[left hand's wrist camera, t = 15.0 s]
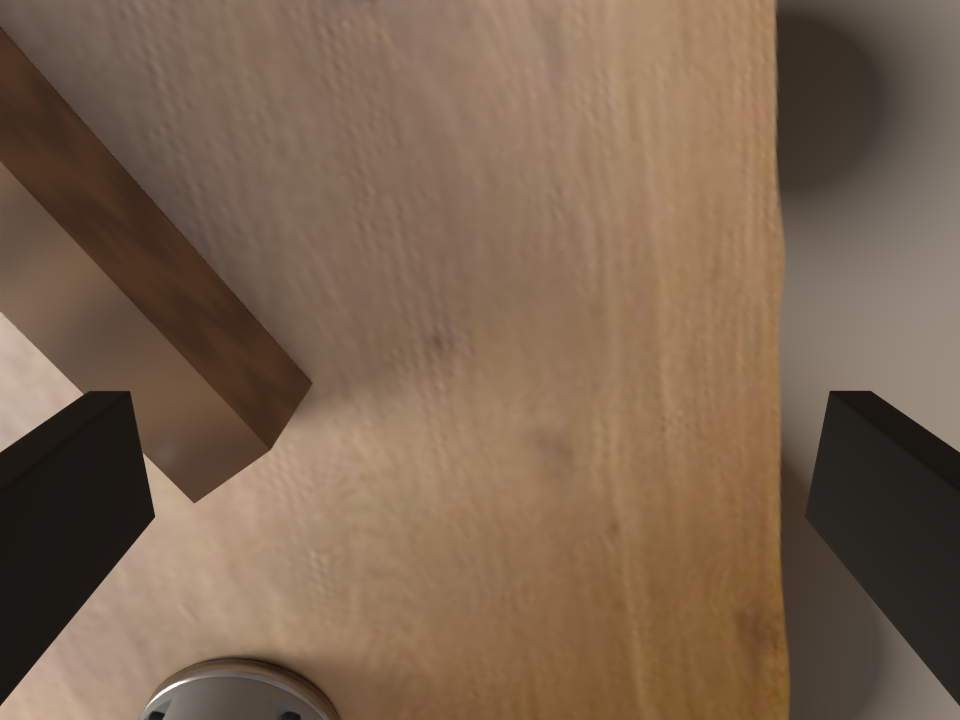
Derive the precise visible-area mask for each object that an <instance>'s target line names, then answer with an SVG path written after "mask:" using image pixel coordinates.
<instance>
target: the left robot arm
mask: <svg viewBox="0 0 960 720" xmlns="http://www.w3.org/2000/svg"><path fill="white" fill-rule="evenodd" d="M154 518H155V513H154V508H153V503H152V498H151V493H150V488H149V483H148V478H147V473H146V468H145V463H144V458H143V453H142V448H141V443H140V438H139V433H138V428H137V423H136V418H135V413H134V408H133V403H132V398H131V393H130V391H88V392H87V393H86V394H84V395H83V396H81V397H80V398H78V399H77V400H75V401H74V402H73V403H71V404H70V405H68V406H67V407H65V408H64V409H62V410H61V411H60V412H58V413H57V414H55V415H54V416H52V417H51V418H50V419H48V420H47V421H45V422H44V423H42V424H41V425H39V426H38V427H37V428H35V429H34V430H32V431H31V432H29V433H28V434H26V435H25V436H24V437H22V438H21V439H19V440H18V441H16V442H15V443H13V444H12V445H11V446H9V447H8V448H6V449H5V450H3V451H2V452H0V706H1V705H2V703H3V702H4V701H5V700H6V698H7V697H8V696H9V695H10V694H11V692H12V691H13V690H14V689H15V687H16V686H17V685H18V684H19V683H20V681H21V680H22V679H23V678H24V676H25V675H26V674H27V673H28V672H29V670H30V669H31V668H32V667H33V665H34V664H35V663H36V662H37V661H38V659H39V658H40V657H41V656H42V654H43V653H44V652H45V651H46V650H47V648H48V647H49V646H50V645H51V643H52V642H53V641H54V640H55V639H56V637H57V636H58V635H59V634H60V632H61V631H62V630H63V629H64V628H65V626H66V625H67V624H68V623H69V621H70V620H71V619H72V618H73V617H74V615H75V614H76V613H77V612H78V610H79V609H80V608H81V607H82V606H83V604H84V603H85V602H86V601H87V599H88V598H89V597H90V596H91V595H92V593H93V592H94V591H95V590H96V589H97V587H98V586H99V585H100V584H101V582H102V581H103V580H104V579H105V578H106V576H107V575H108V574H109V573H110V571H111V570H112V569H113V568H114V567H115V565H116V564H117V563H118V562H119V560H120V559H121V558H122V557H123V556H124V554H125V553H126V552H127V551H128V549H129V548H130V547H131V546H132V545H133V543H134V542H135V541H136V540H137V538H138V537H139V536H140V535H141V534H142V532H143V531H144V530H145V529H146V527H147V526H148V525H149V524H150V523H151V521H152V520H153V519H154ZM805 518H806V519H807V520H808V521H809V523H810V524H811V525H812V526H813V527H814V529H815V530H816V531H817V532H818V533H819V535H820V536H821V537H822V538H823V540H824V541H825V542H826V543H827V545H828V546H829V547H830V548H831V549H832V551H833V552H834V553H835V554H836V556H837V557H838V558H839V559H840V560H841V562H842V563H843V564H844V565H845V567H846V568H847V569H848V570H849V571H850V573H851V574H852V575H853V576H854V577H855V579H856V580H857V581H858V582H859V584H860V585H861V586H862V587H863V589H864V590H865V591H866V592H867V593H868V595H869V596H870V597H871V598H872V599H873V601H874V602H875V603H876V604H877V606H878V607H879V608H880V609H881V610H882V612H883V613H884V614H885V615H886V617H887V618H888V619H889V620H890V621H891V623H892V624H893V625H894V626H895V628H896V629H897V630H898V631H899V632H900V634H901V635H902V636H903V637H904V639H905V640H906V641H907V642H908V643H909V645H910V646H911V647H912V648H913V649H914V651H915V652H916V653H917V654H918V656H919V657H920V658H921V659H922V661H923V662H924V663H925V664H926V665H927V667H928V668H929V669H930V670H931V672H932V673H933V674H934V675H935V676H936V678H937V679H938V680H939V681H940V682H941V684H942V685H943V686H944V687H945V689H946V690H947V691H948V692H949V693H950V695H951V696H952V697H953V698H954V700H955V701H956V702H957V703H958V704H959V706H960V452H958V451H957V450H955V449H954V448H952V447H951V446H949V445H948V444H947V443H945V442H944V441H942V440H941V439H939V438H938V437H936V436H935V435H934V434H932V433H931V432H929V431H928V430H926V429H925V428H923V427H922V426H921V425H919V424H918V423H916V422H915V421H913V420H912V419H910V418H909V417H908V416H906V415H905V414H903V413H902V412H900V411H899V410H898V409H896V408H895V407H893V406H892V405H890V404H889V403H887V402H886V401H885V400H883V399H882V398H880V397H879V396H877V395H876V394H874V393H873V392H872V391H830V393H829V398H828V403H827V408H826V413H825V418H824V423H823V428H822V433H821V438H820V443H819V448H818V453H817V458H816V463H815V468H814V473H813V478H812V483H811V488H810V493H809V498H808V503H807V508H806V513H805ZM139 720H340V719H339V716H338V714H337V712H336V711H335V709H334V707H333V706H332V705H331V703H330V702H329V701H328V700H327V698H326V697H325V696H324V695H323V694H322V693H321V692H320V691H319V690H318V689H317V688H315V687H314V686H313V685H311V684H310V683H309V682H307V681H306V680H304V679H303V678H301V677H299V676H297V675H296V674H294V673H292V672H289V671H287V670H285V669H283V668H280V667H277V666H274V665H271V664H267V663H263V662H258V661H253V660H244V659H220V660H211V661H207V662H202V663H198V664H195V665H192V666H189V667H187V668H184V669H182V670H180V671H178V672H177V673H175V674H173V675H172V676H170V677H169V678H168V679H166V680H165V681H164V682H163V683H162V684H161V685H160V686H159V687H158V688H157V689H156V691H155V692H154V693H153V695H152V696H151V698H150V700H149V702H148V703H147V705H146V707H145V709H144V710H143V712H142V714H141V716H140V718H139Z"/></svg>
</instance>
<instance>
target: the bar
mask: <svg viewBox="0 0 960 720" xmlns="http://www.w3.org/2000/svg"><path fill="white" fill-rule="evenodd" d="M0 312H1V313H2V314H3V315H4V316H5V317H6V318H7V319H8V320H9V321H10V322H11V323H12V324H13V325H14V326H15V327H16V328H17V329H18V330H19V331H20V332H21V333H22V334H23V335H24V336H25V337H26V338H27V339H28V340H29V341H30V342H31V343H32V344H33V345H34V346H35V347H36V348H37V349H39V350H40V351H41V352H42V353H43V354H44V355H45V356H46V357H47V358H48V359H49V360H50V361H51V362H52V363H53V364H54V365H55V366H56V367H57V368H58V369H59V370H60V371H61V372H62V373H63V374H64V375H65V376H66V377H67V378H68V379H69V380H70V381H71V382H72V383H73V384H74V385H75V386H76V387H77V388H78V389H79V390H80V391H81V392H82V393H83V394H86V393H87V392H88V391H130V393H131V398H132V403H133V408H134V413H135V418H136V423H137V428H138V433H139V438H140V443H141V448H142V452H143V453H144V454H145V455H146V456H147V457H148V458H149V459H150V460H151V461H152V462H153V463H154V464H155V465H156V466H157V467H158V468H159V469H160V470H161V471H162V472H163V473H164V474H165V475H166V476H167V477H168V478H169V479H170V480H171V481H172V482H173V483H174V484H175V485H176V486H177V487H178V488H179V489H180V490H181V491H182V492H183V493H184V494H185V495H186V496H187V497H188V498H189V499H190V500H191V501H192V502H193V503H196V502H197V501H198V500H200V499H201V498H203V497H204V496H206V495H207V494H208V493H210V492H211V491H213V490H214V489H216V488H217V487H218V486H220V485H221V484H223V483H224V482H226V481H227V480H228V479H230V478H231V477H233V476H234V475H236V474H237V473H238V472H240V471H241V470H243V469H244V468H246V467H247V466H248V465H250V464H251V463H253V462H254V461H255V460H257V459H258V458H260V457H261V456H263V455H264V454H265V453H267V452H268V451H270V450H271V448H272V447H273V445H274V444H275V442H276V441H277V439H278V437H279V436H280V434H281V433H282V431H283V430H284V428H285V426H286V425H287V423H288V422H289V420H290V418H291V417H292V415H293V414H294V412H295V411H296V409H297V407H298V406H299V404H300V403H301V401H302V400H303V398H304V396H305V395H306V393H307V392H308V390H309V389H310V387H311V385H312V382H311V381H310V380H309V379H308V378H307V377H306V376H305V374H304V373H303V372H302V371H301V370H300V369H299V368H298V366H297V365H296V364H295V363H294V362H293V361H292V360H291V359H290V357H289V356H288V355H287V354H286V353H285V352H284V351H283V349H282V348H281V347H280V346H279V345H278V344H277V343H276V341H275V340H274V339H273V338H272V337H271V336H270V335H269V333H268V332H267V331H266V330H265V329H264V328H263V327H262V325H261V324H260V323H259V322H258V321H257V320H256V319H255V317H254V316H253V315H252V314H251V313H250V312H249V311H248V309H247V308H246V307H245V306H244V305H243V304H242V303H241V301H240V300H239V299H238V298H237V297H236V296H235V295H234V293H233V292H232V291H231V290H230V289H229V288H228V287H227V285H226V284H225V283H224V282H223V281H222V280H221V279H220V278H219V276H218V275H217V274H216V273H215V272H214V271H213V270H212V268H211V267H210V266H209V265H208V264H207V263H206V262H205V260H204V259H203V258H202V257H201V256H200V255H199V254H198V252H197V251H196V250H195V249H194V248H193V247H192V246H191V244H190V243H189V242H188V241H187V240H186V239H185V238H184V236H183V235H182V234H181V233H180V232H179V231H178V230H177V228H176V227H175V226H174V225H173V224H172V223H171V222H170V220H169V219H168V218H167V217H166V216H165V215H164V214H163V212H162V211H161V210H160V209H159V208H158V207H157V206H156V204H155V203H154V202H153V201H152V200H151V199H150V198H149V197H148V195H147V194H146V193H145V192H144V191H143V190H142V189H141V187H140V186H139V185H138V184H137V183H136V182H135V181H134V179H133V178H132V177H131V176H130V175H129V174H128V173H127V171H126V170H125V169H124V168H123V167H122V166H121V165H120V163H119V162H118V161H117V160H116V159H115V158H114V157H113V155H112V154H111V153H110V152H109V151H108V150H107V149H106V147H105V146H104V145H103V144H102V143H101V142H100V141H99V139H98V138H97V137H96V136H95V135H94V134H93V133H92V131H91V130H90V129H89V128H88V127H87V126H86V125H85V123H84V122H83V121H82V120H81V119H80V118H79V117H78V116H77V114H76V113H75V112H74V111H73V110H72V109H71V108H70V106H69V105H68V104H67V103H66V102H65V101H64V100H63V98H62V97H61V96H60V95H59V94H58V93H57V92H56V90H55V89H54V88H53V87H52V86H51V85H50V84H49V82H48V81H47V80H46V79H45V78H44V77H43V76H42V74H41V73H40V72H39V71H38V70H37V69H36V68H35V66H34V65H33V64H32V63H31V62H30V61H29V60H28V58H27V57H26V56H25V55H24V54H23V53H22V52H21V50H20V49H19V48H18V47H17V46H16V45H15V44H14V42H13V41H12V40H11V39H10V38H9V37H8V36H7V35H6V33H5V32H4V31H3V30H2V29H1V28H0Z"/></svg>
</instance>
